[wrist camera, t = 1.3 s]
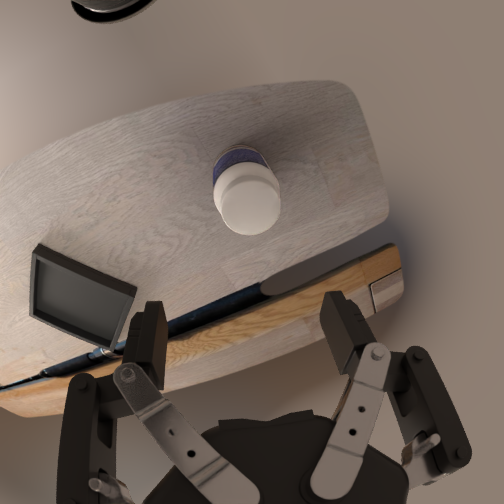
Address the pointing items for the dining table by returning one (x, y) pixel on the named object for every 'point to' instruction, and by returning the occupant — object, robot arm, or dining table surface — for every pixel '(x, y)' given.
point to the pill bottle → (246, 190)
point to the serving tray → (78, 298)
